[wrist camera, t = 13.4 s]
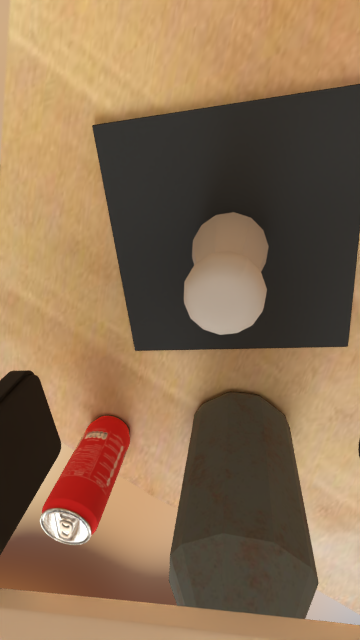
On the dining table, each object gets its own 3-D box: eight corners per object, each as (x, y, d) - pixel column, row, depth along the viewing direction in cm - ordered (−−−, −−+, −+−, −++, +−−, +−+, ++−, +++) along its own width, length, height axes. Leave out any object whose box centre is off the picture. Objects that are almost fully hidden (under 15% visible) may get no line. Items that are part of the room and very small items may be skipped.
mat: (136, 348, 35) (135, 351, 34) (94, 125, 27) (91, 125, 26) (346, 343, 31) (347, 346, 31) (372, 83, 23) (375, 81, 22)
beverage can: (135, 419, 39) (96, 517, 28) (129, 451, 41) (91, 553, 31) (92, 407, 39) (37, 500, 29) (88, 439, 42) (36, 537, 31)
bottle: (221, 469, 40) (187, 1086, 14) (176, 410, 38) (19, 1036, 11) (304, 441, 37) (482, 1212, 10) (260, 374, 34) (339, 1182, 7)
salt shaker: (274, 264, 28) (298, 337, 17) (210, 286, 30) (192, 366, 19) (252, 196, 27) (262, 224, 15) (185, 223, 28) (147, 269, 17)
